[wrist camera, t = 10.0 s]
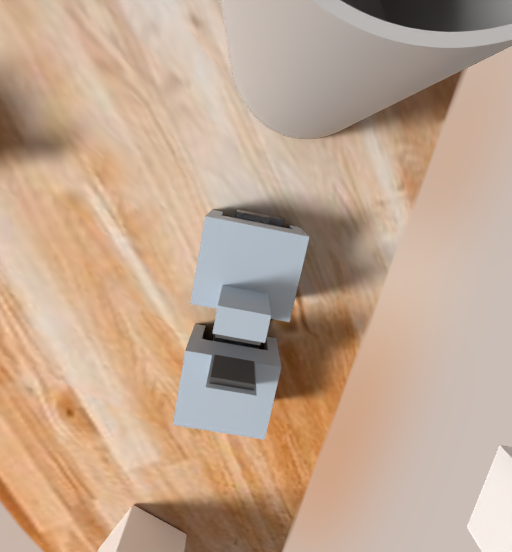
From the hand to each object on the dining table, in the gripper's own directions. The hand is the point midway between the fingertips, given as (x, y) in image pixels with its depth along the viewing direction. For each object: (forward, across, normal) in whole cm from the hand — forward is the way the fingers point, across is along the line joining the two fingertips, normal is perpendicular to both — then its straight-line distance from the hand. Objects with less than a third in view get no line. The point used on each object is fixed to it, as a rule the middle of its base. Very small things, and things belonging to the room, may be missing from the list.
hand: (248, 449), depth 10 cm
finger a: (+27, 0, -11) cm, 29 cm away
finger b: (+27, 0, 0) cm, 27 cm away
